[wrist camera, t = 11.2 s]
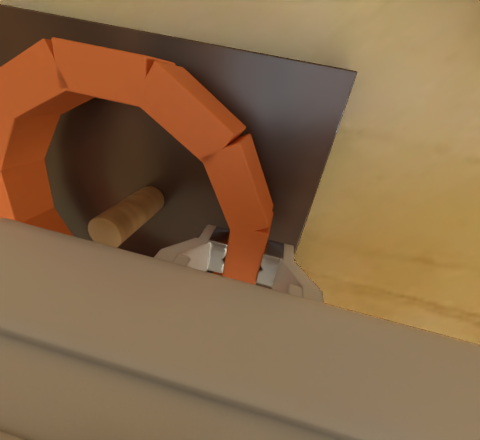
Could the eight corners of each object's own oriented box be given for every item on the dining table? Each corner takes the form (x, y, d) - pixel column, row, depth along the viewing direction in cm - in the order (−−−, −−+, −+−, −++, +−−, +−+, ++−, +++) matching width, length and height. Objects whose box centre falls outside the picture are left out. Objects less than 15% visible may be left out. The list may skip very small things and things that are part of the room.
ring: (306, 88, 11) (309, 87, 8) (241, 330, 18) (233, 363, 16) (-13, 25, 12) (-83, 10, 10) (48, 272, 20) (15, 295, 18)
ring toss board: (352, 73, 13) (395, 58, 7) (244, 394, 27) (232, 468, 21) (-2, 6, 14) (-175, -45, 9) (73, 341, 28) (23, 398, 23)
